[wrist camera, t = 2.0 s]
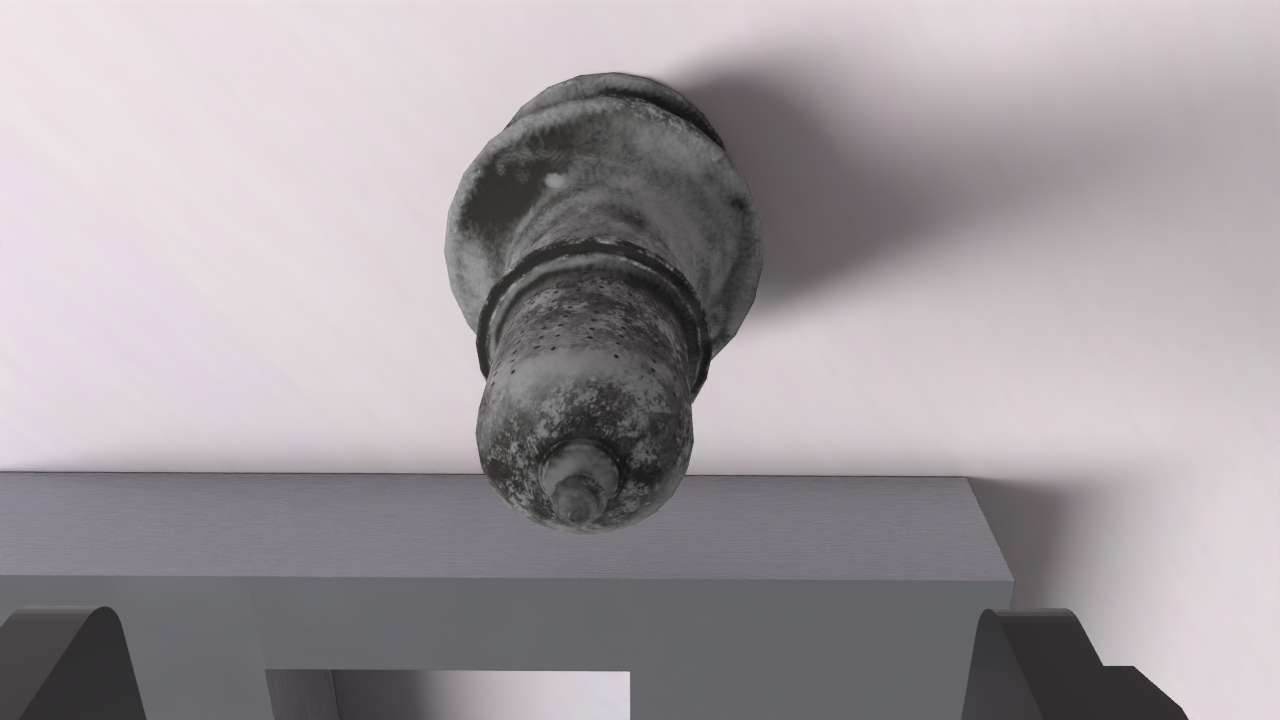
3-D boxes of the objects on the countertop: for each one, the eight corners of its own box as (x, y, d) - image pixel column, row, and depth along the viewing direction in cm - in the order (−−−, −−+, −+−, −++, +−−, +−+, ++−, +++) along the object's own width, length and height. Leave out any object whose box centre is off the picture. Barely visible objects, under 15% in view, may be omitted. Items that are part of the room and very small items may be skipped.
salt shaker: (737, 328, 25) (802, 718, 14) (476, 318, 25) (343, 701, 14) (759, 63, 22) (860, 296, 12) (467, 51, 22) (298, 274, 12)
